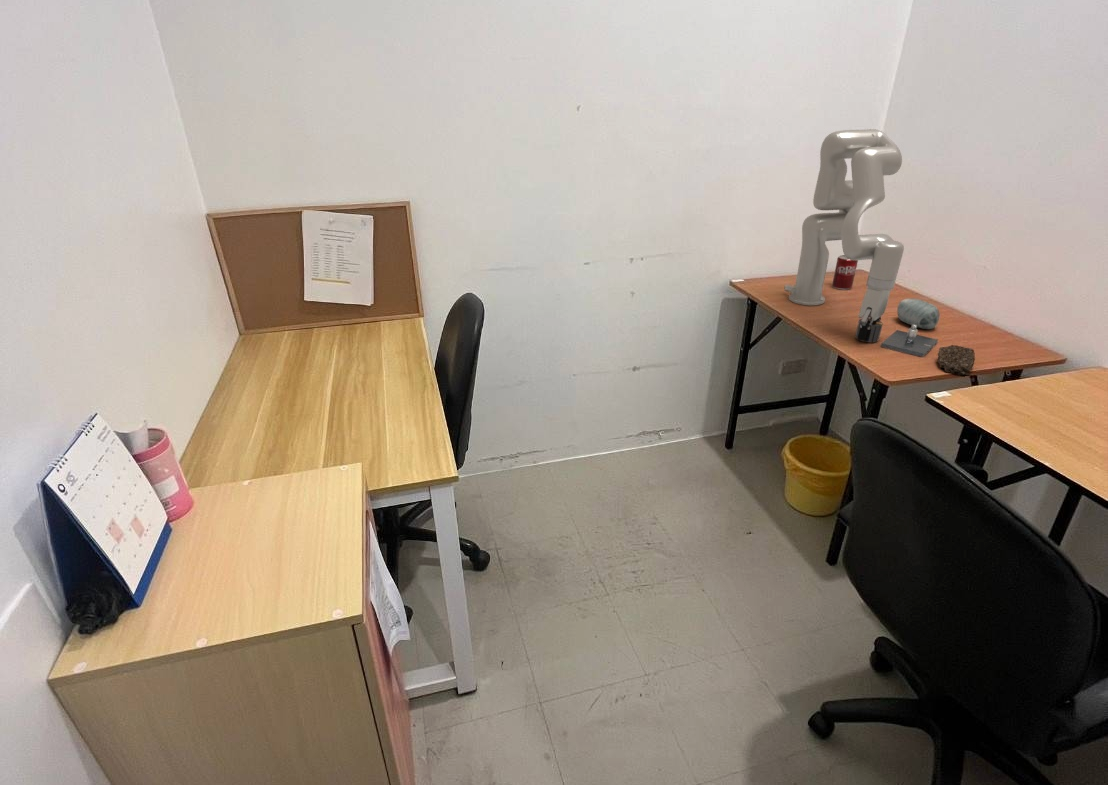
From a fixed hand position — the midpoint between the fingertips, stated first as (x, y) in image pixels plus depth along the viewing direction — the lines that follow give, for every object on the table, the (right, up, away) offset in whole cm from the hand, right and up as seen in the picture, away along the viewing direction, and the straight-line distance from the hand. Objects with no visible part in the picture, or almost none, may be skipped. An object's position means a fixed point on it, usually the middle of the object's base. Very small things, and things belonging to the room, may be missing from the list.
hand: (867, 336), depth 190 cm
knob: (0, -1, 0) cm, 1 cm away
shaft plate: (+11, -3, -4) cm, 12 cm away
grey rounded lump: (+21, +5, +10) cm, 24 cm away
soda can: (+14, +23, +45) cm, 52 cm away
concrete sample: (+15, -11, -18) cm, 26 cm away
